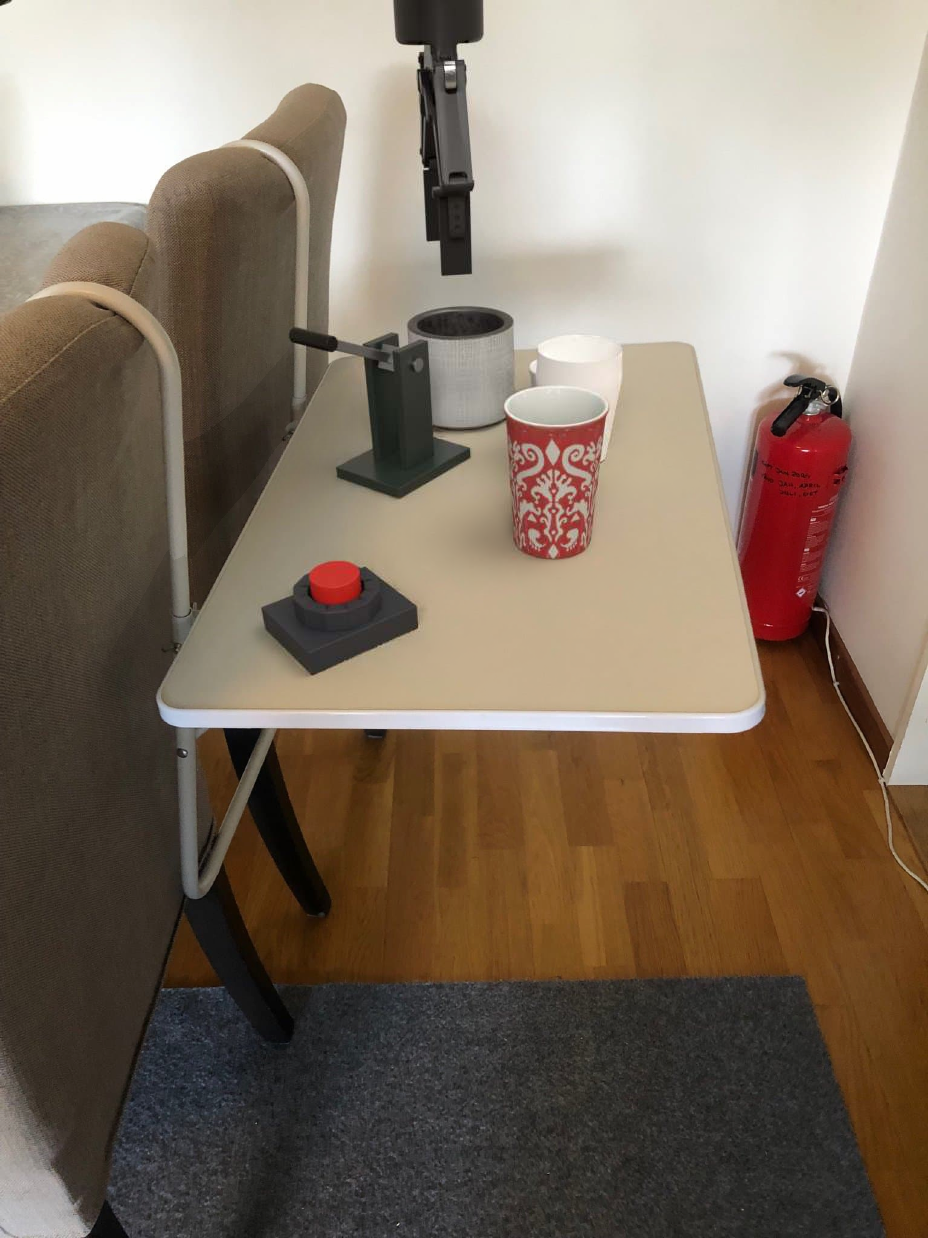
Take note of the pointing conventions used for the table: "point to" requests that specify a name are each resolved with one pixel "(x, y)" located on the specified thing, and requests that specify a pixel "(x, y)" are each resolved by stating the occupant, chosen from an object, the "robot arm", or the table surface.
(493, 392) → the planter
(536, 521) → the mug
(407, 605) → the switch block
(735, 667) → the table surface
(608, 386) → the cup
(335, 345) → the switch lever
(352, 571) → the button
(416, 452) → the lever bracket
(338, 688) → the table surface
